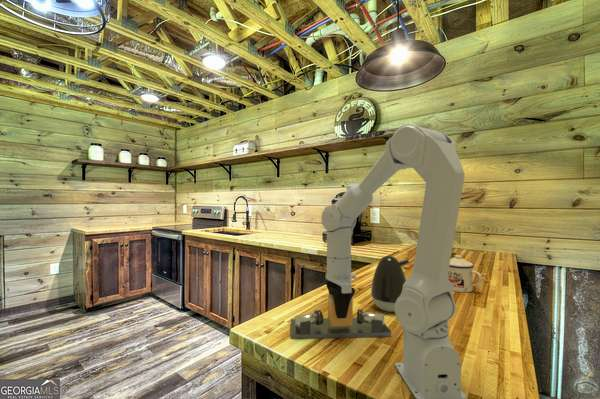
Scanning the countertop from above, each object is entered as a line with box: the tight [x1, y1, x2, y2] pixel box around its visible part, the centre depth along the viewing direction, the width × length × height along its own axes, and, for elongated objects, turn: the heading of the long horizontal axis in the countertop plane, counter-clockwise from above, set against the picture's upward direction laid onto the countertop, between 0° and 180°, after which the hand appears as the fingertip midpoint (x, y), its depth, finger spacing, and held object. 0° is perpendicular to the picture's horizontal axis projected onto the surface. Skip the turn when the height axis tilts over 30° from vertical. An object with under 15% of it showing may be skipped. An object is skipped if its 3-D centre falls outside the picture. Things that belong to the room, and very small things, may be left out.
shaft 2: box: [356, 308, 385, 333], centre depth 65 cm, size 6×3×4 cm, turn 72°
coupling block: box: [327, 293, 354, 326], centre depth 66 cm, size 4×5×6 cm
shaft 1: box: [294, 309, 324, 335], centre depth 65 cm, size 6×3×4 cm, turn 112°
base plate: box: [290, 317, 392, 340], centre depth 67 cm, size 8×23×1 cm, turn 92°
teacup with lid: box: [447, 254, 483, 293], centre depth 96 cm, size 12×9×12 cm
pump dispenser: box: [370, 255, 410, 313], centre depth 80 cm, size 10×10×15 cm
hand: (339, 313), depth 66 cm, fingers closed on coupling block, 4 cm apart
